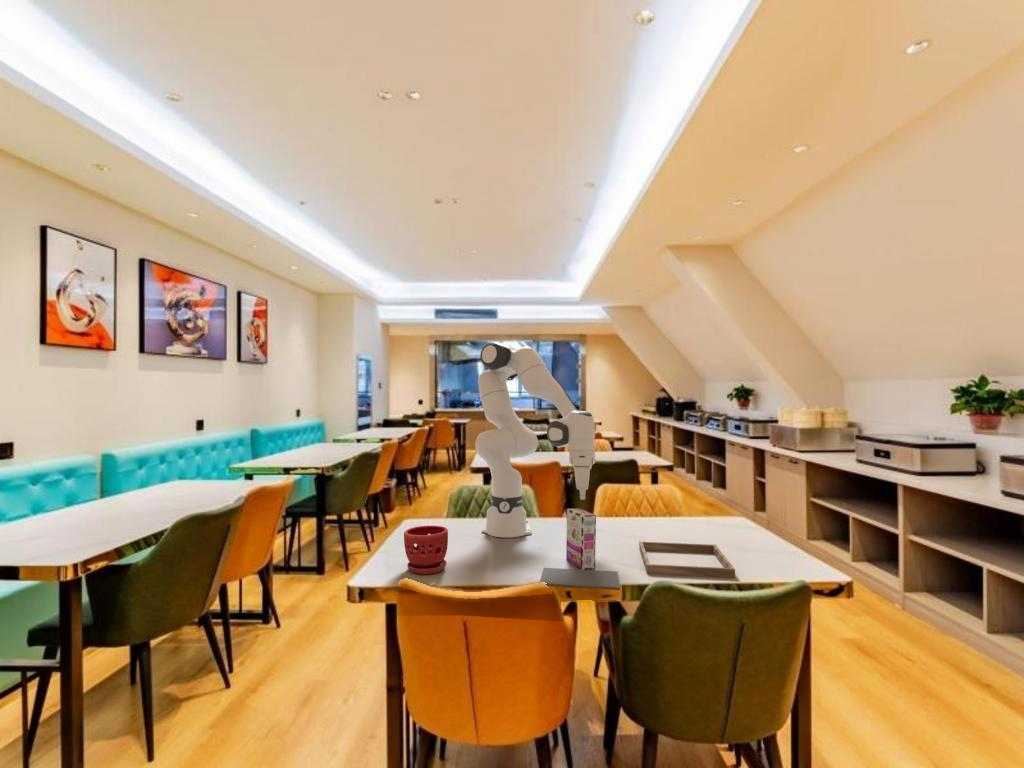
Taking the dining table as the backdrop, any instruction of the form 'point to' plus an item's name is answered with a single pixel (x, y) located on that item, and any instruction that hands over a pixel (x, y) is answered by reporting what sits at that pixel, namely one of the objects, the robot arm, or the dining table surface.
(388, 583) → the dining table surface
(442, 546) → the plant pot
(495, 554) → the dining table surface
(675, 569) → the serving tray rim
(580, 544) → the candy bar box
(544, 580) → the mat
